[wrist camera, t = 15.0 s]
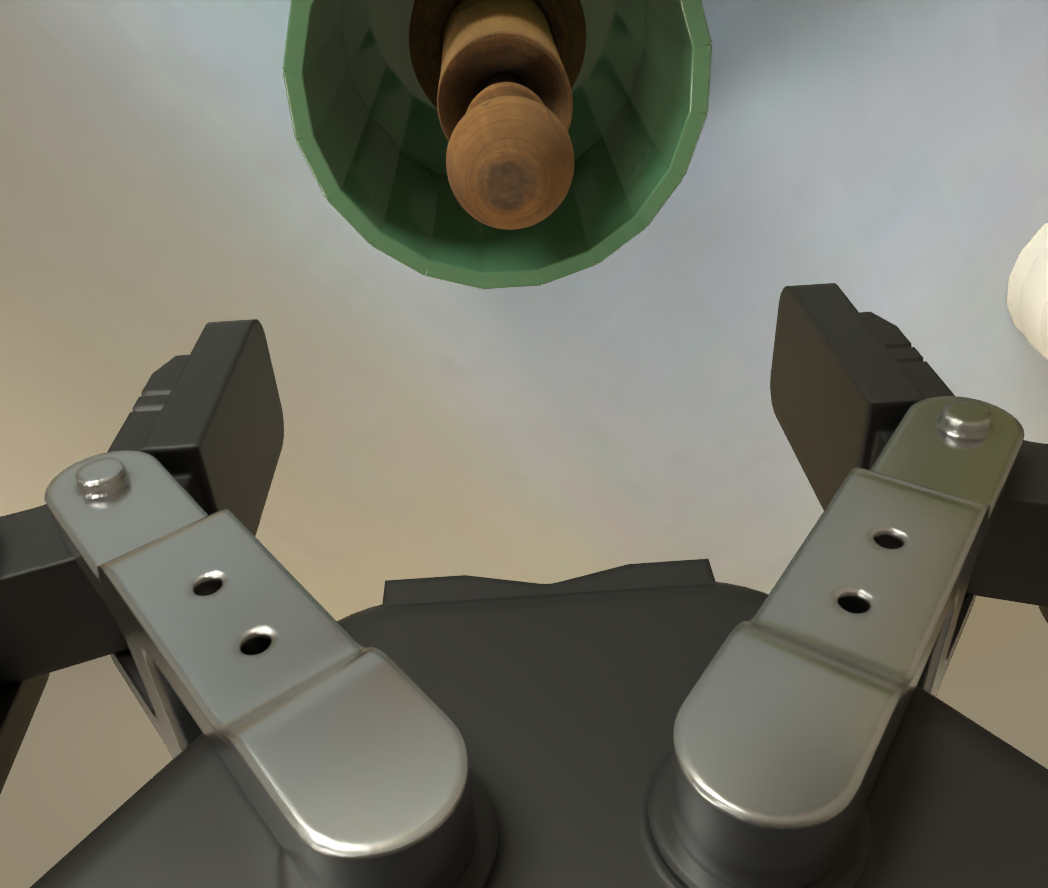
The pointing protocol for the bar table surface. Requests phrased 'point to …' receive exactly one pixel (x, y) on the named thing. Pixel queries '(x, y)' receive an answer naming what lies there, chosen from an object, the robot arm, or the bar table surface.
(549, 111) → the brown knobbed turned figurine
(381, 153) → the cup
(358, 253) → the bar table surface
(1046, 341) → the bottle
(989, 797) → the robot arm
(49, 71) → the bar table surface
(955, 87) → the bar table surface
